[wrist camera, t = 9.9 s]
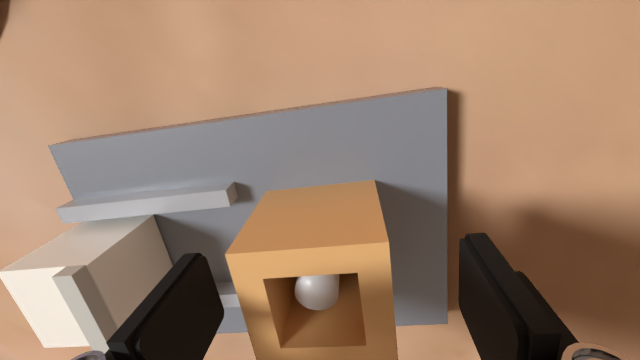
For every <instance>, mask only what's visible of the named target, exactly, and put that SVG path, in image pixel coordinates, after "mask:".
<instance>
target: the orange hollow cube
mask: <svg viewBox="0 0 640 360" xmlns="http://www.w3.org/2000/svg"><path fill="white" fill-rule="evenodd" d="M225 257H226V260H227V263H228V267H229V270H230V273H231V277H232V280H233V283H234V287H235V290H236V293H237V297H238V300H239V303H240V307H241V310H242V313H243V316H244V320H245V323H246V326H247V330H248V333H249V336H250V340H251V343H252V346H253V350H254V353H255V356H256V360H398V353H397V340H396V327H395V314H394V301H393V288H392V275H391V262H390V249H389V240H388V236H387V231H386V227H385V223H384V219H383V214H382V210H381V206H380V201H379V197H378V193H377V188H376V184H375V180H369V181H359V182H350V183H340V184H330V185H321V186H311V187H301V188H292V189H282V190H273V191H266V192H265V193H264V195H263V197H262V198H261V200H260V201H259V203H258V204H257V206H256V207H255V209H254V210H253V212H252V213H251V215H250V217H249V218H248V220H247V221H246V223H245V224H244V226H243V227H242V229H241V230H240V232H239V233H238V235H237V237H236V238H235V240H234V241H233V243H232V244H231V246H230V247H229V249H228V250H227V252H226V253H225ZM331 274H340V276H339V297H338V300H337V302H336V303H335V304H334V305H333V306H332V307H330V308H328V309H325V310H312V309H308V308H306V307H304V306H303V305H301V304H300V303H299V302H298V300H297V299H296V297H295V292H294V290H295V285H296V281H297V277H300V276H315V275H331Z"/></svg>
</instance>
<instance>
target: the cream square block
mask: <svg viewBox="0 0 640 360" xmlns="http://www.w3.org/2000/svg"><path fill="white" fill-rule="evenodd" d="M172 267H173V265H172V263H171V260H170V257H169V255H168V252H167V250H166V247H165V244H164V242H163V239H162V237H161V234H160V231H159V229H158V226H157V223H156V221H155V218H154V216H153V215H144V216H134V217H124V218H114V219H104V220H95V221H85V222H81V223H79V224H77V225H76V226H74V227H72V228H71V229H69V230H67V231H66V232H64V233H62V234H60V235H59V236H57V237H55V238H54V239H52V240H50V241H49V242H47V243H45V244H43V245H42V246H40V247H38V248H37V249H35V250H33V251H32V252H30V253H28V254H26V255H25V256H23V257H21V258H20V259H18V260H16V261H15V262H13V263H11V264H10V265H8V266H6V267H4V268H3V269H1V270H0V278H1V280H2V281H3V283H4V284H5V286H6V287H7V289H8V291H9V292H10V294H11V295H12V297H13V299H14V300H15V302H16V303H17V305H18V306H19V308H20V310H21V311H22V313H23V314H24V316H25V318H26V319H27V321H28V322H29V324H30V325H31V327H32V329H33V330H34V332H35V333H36V335H37V337H38V338H39V340H40V341H41V343H42V344H43V346H44V348H51V347H77V346H90V347H91V348H92V350H93V351H94V350H98V351H102V352H103V353H104V354H105V353H106V352H107V351H108V349H109V347H108V346H107V344H106V342H107V341H108V340H109V339H110V338H111V336H112V335H113V334H114V333H115V332H116V331H117V330H118V328H119V327H120V326H121V325H122V324H123V323H124V322H125V320H126V319H127V318H128V317H129V316H130V315H131V314H132V312H133V311H134V310H135V309H136V308H137V307H138V306H139V304H140V303H141V302H142V301H143V300H144V299H145V298H146V296H147V295H148V294H149V293H150V292H151V291H152V290H153V288H154V287H155V286H156V285H157V284H158V283H159V282H160V280H161V279H162V278H163V277H164V276H165V275H166V274H167V273H168V271H169V270H170V269H171V268H172Z"/></svg>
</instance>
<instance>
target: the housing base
mask: <svg viewBox="0 0 640 360" xmlns="http://www.w3.org/2000/svg"><path fill="white" fill-rule="evenodd" d="M48 147H49V149H50V151H51V153H52V155H53V158H54V160H55V162H56V164H57V166H58V168H59V170H60V172H61V174H62V176H63V179H64V181H65V183H66V185H67V187H68V189H69V191H70V193H71V195H72V197H73V200H72V201H70V202H68V203H66V204H64V205H62V206H60V207H58V208H56V211H57V213H58V215H59V217H60V219H61V221H62V223H63V224H64V223H74V222H85V221H95V220H104V219H114V218H124V217H134V216H144V215H153V216H154V218H155V221H156V223H157V226H158V229H159V231H160V234H161V237H162V239H163V242H164V244H165V247H166V250H167V252H168V255H169V257H170V260H171V263H172V265H173V266H174V265H175V263H176V262H177V261H178V260H179V259H180V258H181V257H182V255H184V254H186V253H201V254H202V255H203V256H205V257H206V258H207V261H208V264H209V267H210V270H211V272H212V275H213V278H214V281H215V284H216V287H217V290H218V293H219V296H220V299H221V302H222V305H223V308H224V318H223V320H222V322H221V324H220V326H219V328H218V330H217V332H216V334H217V333H241V332H248V330H247V326H246V323H245V320H244V316H243V313H242V310H241V307H240V303H239V300H238V297H237V293H236V290H235V287H234V283H233V280H232V277H231V273H230V270H229V267H228V263H227V260H226V257H225V253H226V252H227V250H228V249H229V247H230V246H231V244H232V243H233V241H234V240H235V238H236V237H237V235H238V233H239V232H240V230H241V229H242V227H243V226H244V224H245V223H246V221H247V220H248V218H249V217H250V215H251V213H252V212H253V210H254V209H255V207H256V206H257V204H258V203H259V201H260V200H261V198H262V197H263V195H264V193H265V192H266V191H273V190H282V189H292V188H301V187H311V186H321V185H330V184H340V183H350V182H359V181H369V180H375V184H376V188H377V193H378V197H379V201H380V206H381V210H382V214H383V219H384V223H385V227H386V231H387V236H388V240H389V249H390V262H391V275H392V288H393V301H394V314H395V326H407V325H431V324H448V287H447V89H446V88H442V87H433V88H426V89H419V90H412V91H405V92H398V93H391V94H384V95H378V96H371V97H364V98H357V99H350V100H343V101H336V102H329V103H322V104H315V105H308V106H301V107H295V108H288V109H281V110H274V111H267V112H260V113H253V114H246V115H239V116H232V117H225V118H218V119H212V120H205V121H198V122H191V123H184V124H177V125H170V126H163V127H156V128H149V129H142V130H135V131H128V132H122V133H115V134H108V135H101V136H94V137H87V138H80V139H73V140H68V141H64V142H61V143H57V144H53V145H49V146H48ZM339 276H340V274H331V275H315V276H300V277H297V281H296V285H295V290H294V292H295V297H296V299H297V300H298V302H299V303H300V304H301V305H303V306H304V307H306V308H308V309H312V310H325V309H328V308H330V307H332V306H333V305H334V304H335V303H336V302H337V300H338V297H339Z"/></svg>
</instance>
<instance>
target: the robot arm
mask: <svg viewBox="0 0 640 360" xmlns="http://www.w3.org/2000/svg"><path fill="white" fill-rule="evenodd" d="M459 307H460V310H461V313H462V315H463V318H464V320H465V322H466V325H467V327H468V330H469V332H470V334H471V337H472V339H473V341H474V344H475V346H476V348H477V351H478V353H479V355H480V358H481V360H630V359H628V358H627V357H625V356H624V355H622V354H620V353H618V352H616V351H614V350H612V349H610V348H607V347H604V346H601V345H598V344H593V343H586V342H582V343H579V342H578V341H577V339H576V338H575V337H574V336H573V334H572V333H571V332H570V331H569V329H568V328H567V327H566V326H565V324H564V323H563V322H562V321H561V319H560V318H559V317H558V316H557V314H556V313H555V312H554V311H553V309H552V308H551V307H550V306H549V304H548V303H547V302H546V301H545V299H544V298H543V297H542V296H541V294H540V293H539V292H538V290H537V289H536V288H535V287H534V285H533V284H532V283H531V282H530V280H529V279H528V278H527V277H526V276H525V275H524V274H523V273H522V272H520V271H517V272H515V271H514V270H513V269H512V267H511V266H510V265H509V264H508V262H507V261H506V260H505V258H504V257H503V256H502V254H501V253H500V252H499V250H498V249H497V248H496V246H495V245H494V244H493V242H492V241H491V240H490V238H489V237H488V236H487V235H486V234H485V233H474V234H466V236H465V238H464V239H460V251H459ZM223 318H224V308H223V305H222V302H221V299H220V296H219V293H218V290H217V287H216V284H215V281H214V278H213V275H212V272H211V270H210V267H209V264H208V261H207V258H206V257H205V256H203V255H202V254H201V253H186V254H184V255H182V257H181V258H180V259H179V260H178V261H177V262H176V263H175V265H174V266H173V267H172V268H171V269H170V270H169V271H168V273H167V274H166V275H165V276H164V277H163V278H162V279H161V280H160V282H159V283H158V284H157V285H156V286H155V287H154V288H153V290H152V291H151V292H150V293H149V294H148V295H147V296H146V298H145V299H144V300H143V301H142V302H141V303H140V304H139V306H138V307H137V308H136V309H135V310H134V311H133V312H132V314H131V315H130V316H129V317H128V318H127V319H126V320H125V322H124V323H123V324H122V325H121V326H120V327H119V328H118V330H117V331H116V332H115V333H114V334H113V335H112V336H111V338H110V339H109V340H108V341H107V342H106V344H107V346H108V347H109V349H108V351H107V352H106V353H105V354H104V353H103V352H102V351H98V350H94V351H89V352H86V353H83V354H81V355H78V356H77V357H75V358H73V359H71V360H203V358H204V356H205V354H206V352H207V350H208V348H209V346H210V344H211V342H212V340H213V338H214V336H215V334H216V332H217V330H218V328H219V326H220V324H221V322H222V320H223Z"/></svg>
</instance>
